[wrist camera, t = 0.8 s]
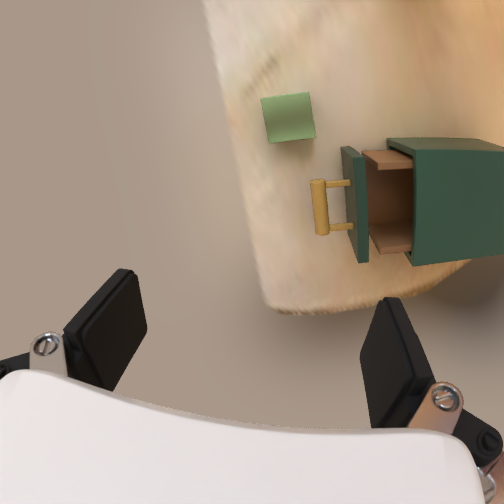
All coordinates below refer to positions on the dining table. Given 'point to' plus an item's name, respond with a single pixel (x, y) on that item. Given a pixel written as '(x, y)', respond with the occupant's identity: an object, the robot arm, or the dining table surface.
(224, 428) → the robot arm
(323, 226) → the drawer
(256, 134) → the dining table surface
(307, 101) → the block
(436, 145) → the cabinet
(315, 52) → the dining table surface
